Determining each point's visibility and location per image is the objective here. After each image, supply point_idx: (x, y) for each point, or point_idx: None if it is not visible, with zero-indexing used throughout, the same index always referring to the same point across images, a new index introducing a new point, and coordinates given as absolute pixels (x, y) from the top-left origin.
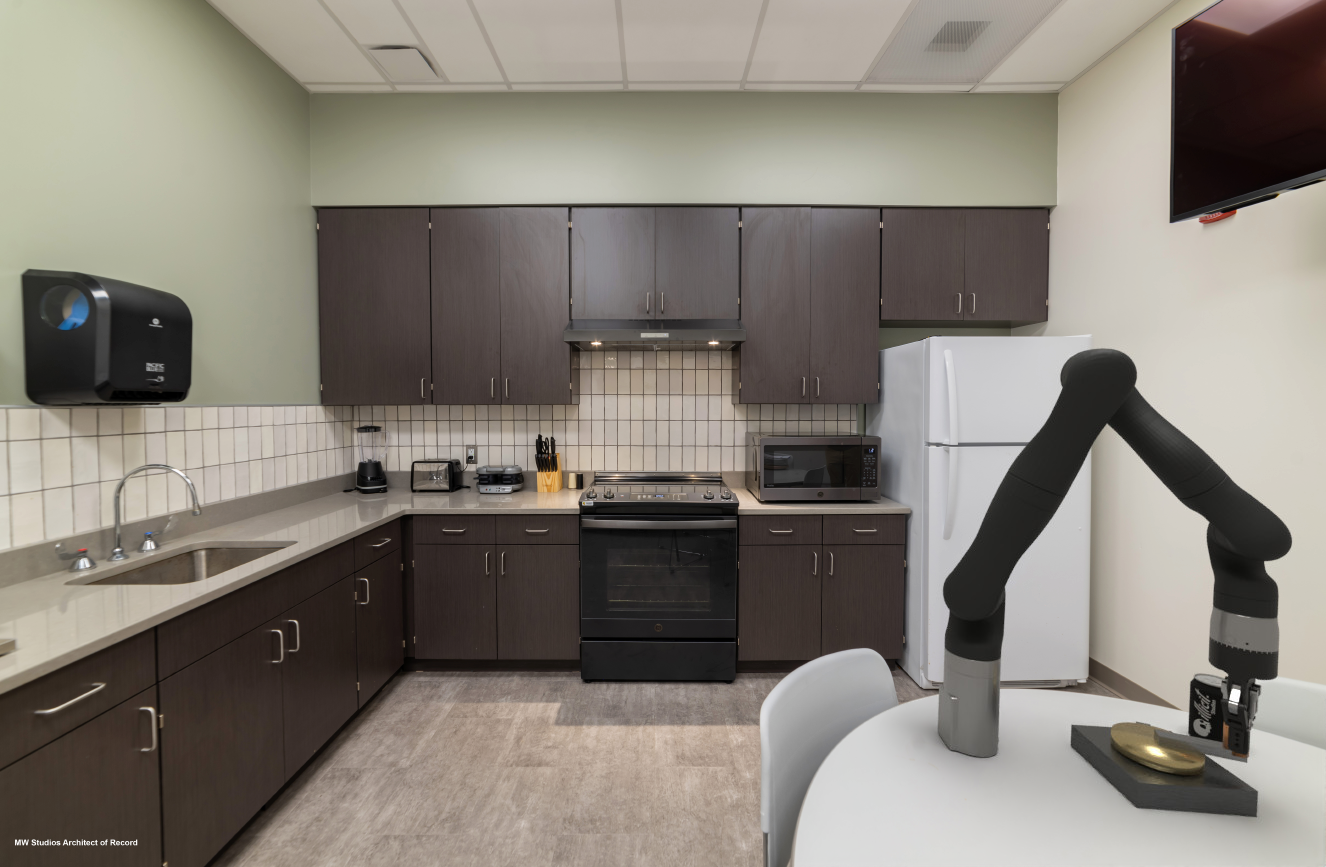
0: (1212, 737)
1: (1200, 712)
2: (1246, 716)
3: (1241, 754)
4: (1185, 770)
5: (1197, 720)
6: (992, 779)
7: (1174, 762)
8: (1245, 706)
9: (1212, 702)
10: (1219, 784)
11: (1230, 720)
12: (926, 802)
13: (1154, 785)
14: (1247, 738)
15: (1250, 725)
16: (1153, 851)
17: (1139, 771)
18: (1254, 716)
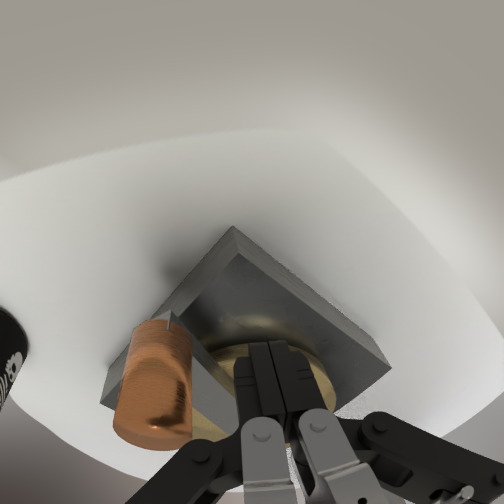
0: (14, 345)
1: (5, 391)
2: (443, 463)
3: (183, 335)
4: (312, 360)
5: (13, 380)
6: (408, 410)
7: (328, 380)
8: (495, 489)
9: None
10: (285, 309)
11: (380, 458)
12: (466, 396)
13: (377, 356)
14: (301, 387)
15: (280, 432)
16: (457, 289)
17: (349, 383)
18: (203, 460)
